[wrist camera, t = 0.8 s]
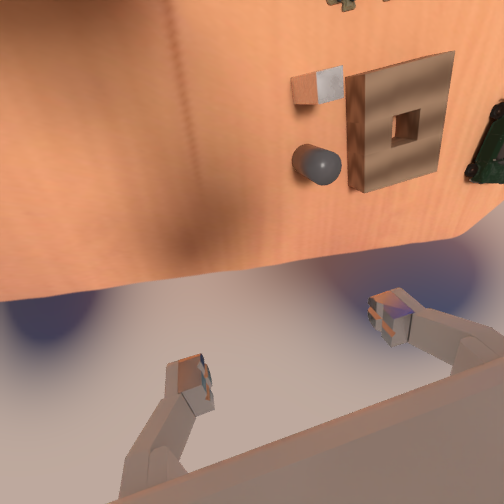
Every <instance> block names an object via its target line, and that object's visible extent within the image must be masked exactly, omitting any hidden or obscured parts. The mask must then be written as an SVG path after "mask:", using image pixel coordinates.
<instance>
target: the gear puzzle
mask: <svg viewBox="0 0 504 504" xmlns="http://www.w3.org/2000/svg"><path fill="white" fill-rule="evenodd" d="M354 1H355V0H326V2H327V4H328V5H334V4H338V3H342V12H345V11H349V10H353V9H355V6H356V5H355V2H354ZM384 1H389V0H383V2H384Z"/></svg>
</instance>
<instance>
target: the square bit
mask: <svg viewBox="0 0 504 504" xmlns="http://www.w3.org/2000/svg"><path fill="white" fill-rule="evenodd" d="M291 84H292V92H293V101H294V104H322V103H326V102H329V101H333V100H337V99H341V98H344V91H343V65H342V66H337V67H333V68H329V69H324V70H320V71H316V72H311V73H308V74H304V75H300V76H296V77H292V78H291Z"/></svg>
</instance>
